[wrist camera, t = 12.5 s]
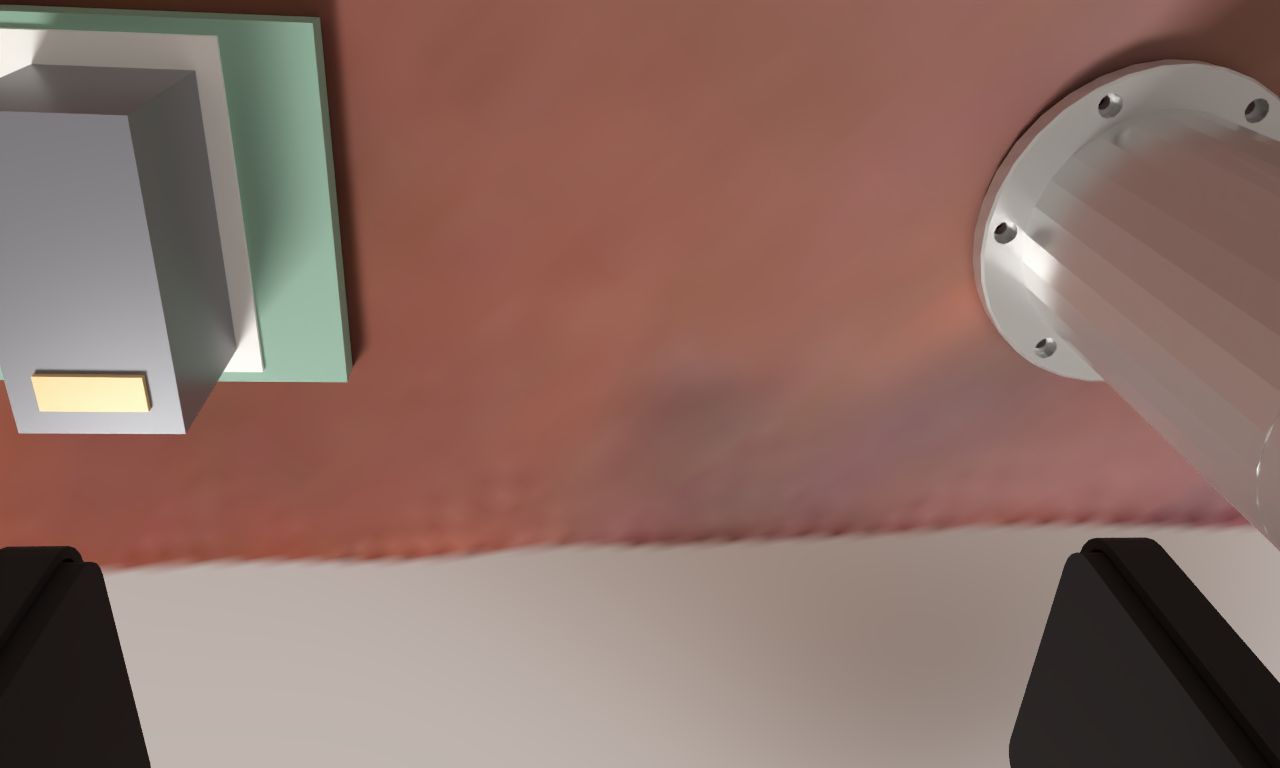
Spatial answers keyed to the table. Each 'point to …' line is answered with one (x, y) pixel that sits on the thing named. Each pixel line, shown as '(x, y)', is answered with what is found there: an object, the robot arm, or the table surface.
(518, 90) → the table surface
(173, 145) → the block
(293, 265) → the header board
